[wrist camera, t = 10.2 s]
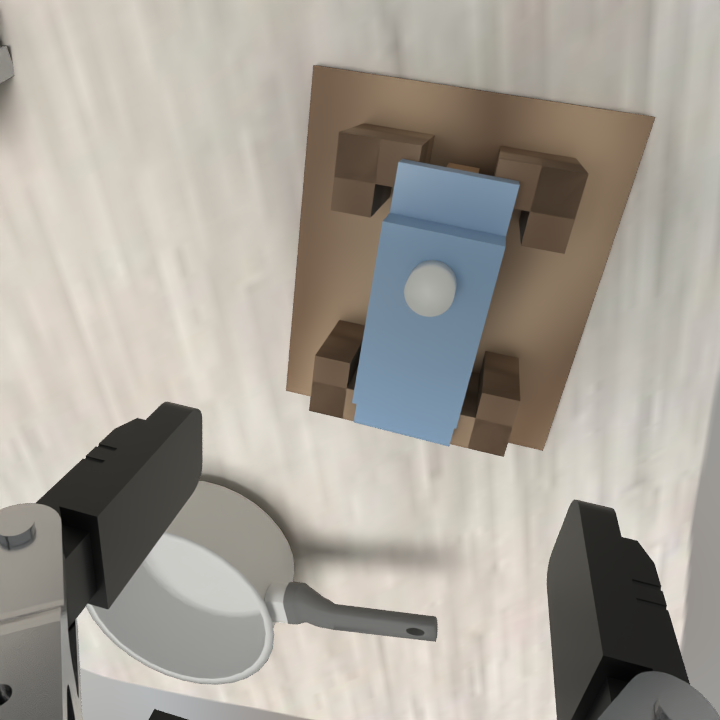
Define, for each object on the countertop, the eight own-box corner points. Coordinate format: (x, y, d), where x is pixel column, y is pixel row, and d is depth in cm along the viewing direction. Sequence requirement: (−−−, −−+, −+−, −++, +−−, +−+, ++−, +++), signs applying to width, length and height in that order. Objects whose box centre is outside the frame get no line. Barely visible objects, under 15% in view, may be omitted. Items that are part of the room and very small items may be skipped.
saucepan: (454, 625, 36) (445, 713, 31) (162, 602, 41) (115, 674, 36) (436, 467, 31) (423, 541, 26) (110, 463, 36) (48, 525, 31)
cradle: (289, 386, 31) (256, 432, 27) (316, 65, 24) (279, 64, 20) (542, 444, 29) (547, 503, 25) (652, 116, 22) (684, 125, 18)
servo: (375, 371, 28) (339, 453, 22) (417, 146, 24) (385, 172, 17) (457, 391, 28) (443, 481, 22) (517, 165, 23) (520, 199, 17)
